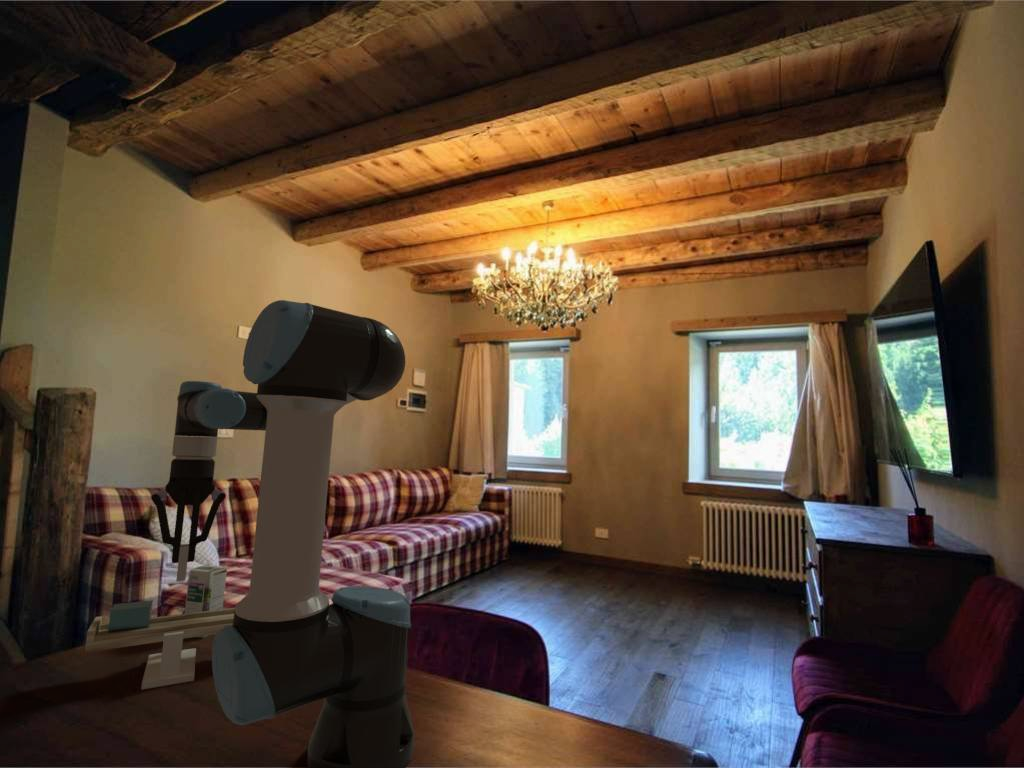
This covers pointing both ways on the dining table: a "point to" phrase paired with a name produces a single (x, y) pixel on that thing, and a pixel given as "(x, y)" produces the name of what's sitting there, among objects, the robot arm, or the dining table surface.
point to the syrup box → (205, 589)
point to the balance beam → (158, 629)
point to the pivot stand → (170, 663)
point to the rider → (130, 616)
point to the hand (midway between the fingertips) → (181, 579)
